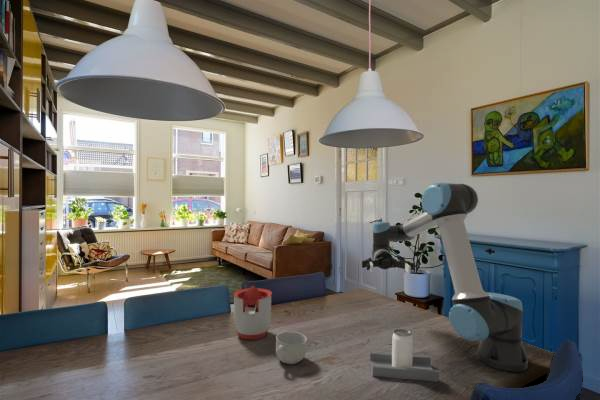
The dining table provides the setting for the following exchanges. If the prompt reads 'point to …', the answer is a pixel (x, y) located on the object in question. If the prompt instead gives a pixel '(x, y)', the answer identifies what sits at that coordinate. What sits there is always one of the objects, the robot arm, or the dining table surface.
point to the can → (402, 349)
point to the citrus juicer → (252, 312)
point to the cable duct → (419, 370)
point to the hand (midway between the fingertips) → (390, 269)
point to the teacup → (290, 347)
